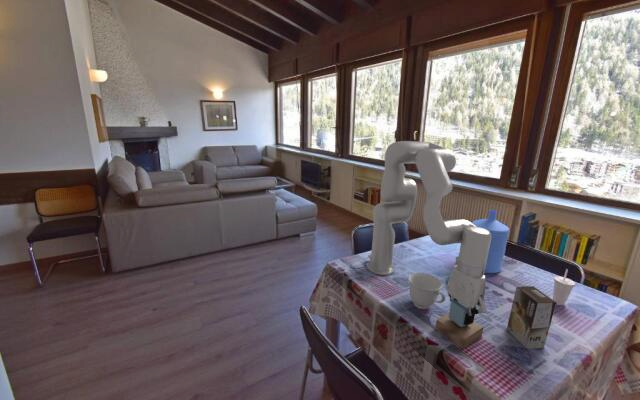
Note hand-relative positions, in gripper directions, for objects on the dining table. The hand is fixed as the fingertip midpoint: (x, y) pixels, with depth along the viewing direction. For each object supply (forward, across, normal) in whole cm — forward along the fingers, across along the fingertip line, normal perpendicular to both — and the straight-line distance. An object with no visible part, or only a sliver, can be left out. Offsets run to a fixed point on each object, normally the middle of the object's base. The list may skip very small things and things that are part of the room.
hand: (460, 317), depth 93 cm
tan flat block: (+6, 0, 0) cm, 6 cm away
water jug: (+6, -30, +50) cm, 58 cm away
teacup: (+6, -15, -1) cm, 16 cm away
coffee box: (+6, +10, +18) cm, 22 cm away
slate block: (+1, 0, 0) cm, 1 cm away
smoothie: (+6, +2, +52) cm, 52 cm away
